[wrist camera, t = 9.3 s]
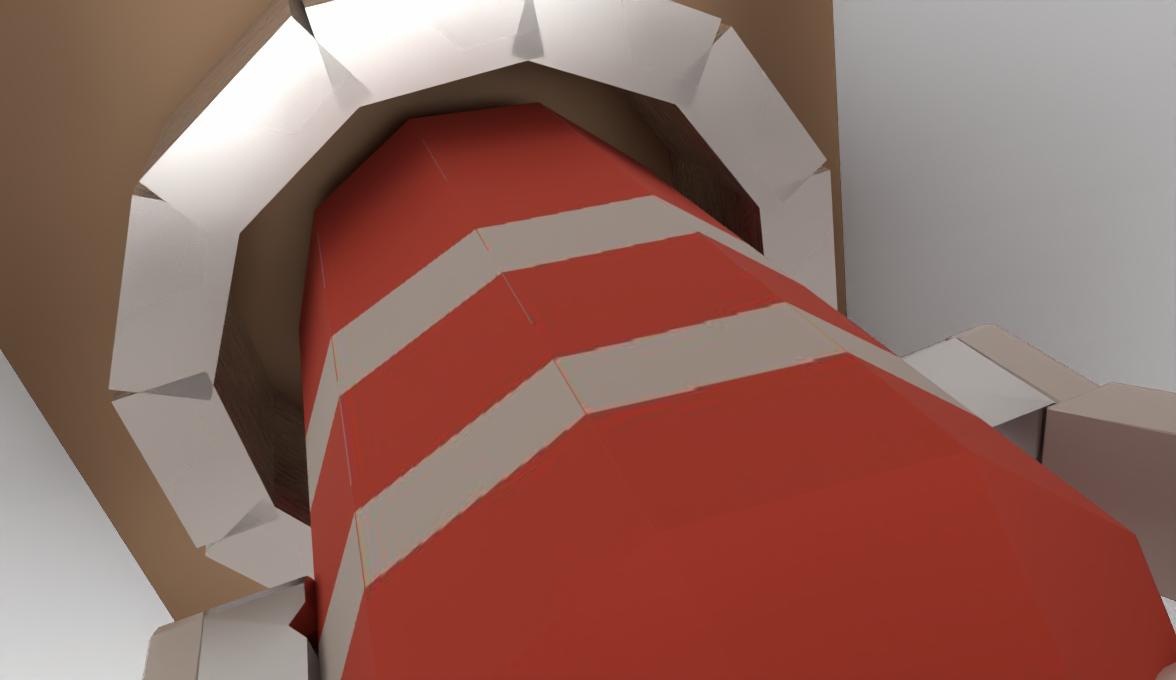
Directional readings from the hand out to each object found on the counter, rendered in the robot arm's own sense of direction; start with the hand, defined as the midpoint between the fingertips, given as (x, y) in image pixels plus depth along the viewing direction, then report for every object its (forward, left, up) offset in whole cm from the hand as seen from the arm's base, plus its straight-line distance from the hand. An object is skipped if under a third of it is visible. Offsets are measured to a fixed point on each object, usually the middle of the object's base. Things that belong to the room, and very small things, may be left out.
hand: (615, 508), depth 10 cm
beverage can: (0, 0, -7) cm, 7 cm away
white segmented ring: (0, 0, -7) cm, 7 cm away
